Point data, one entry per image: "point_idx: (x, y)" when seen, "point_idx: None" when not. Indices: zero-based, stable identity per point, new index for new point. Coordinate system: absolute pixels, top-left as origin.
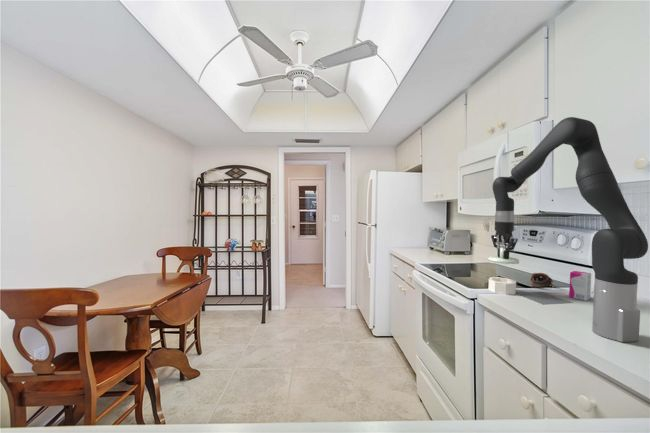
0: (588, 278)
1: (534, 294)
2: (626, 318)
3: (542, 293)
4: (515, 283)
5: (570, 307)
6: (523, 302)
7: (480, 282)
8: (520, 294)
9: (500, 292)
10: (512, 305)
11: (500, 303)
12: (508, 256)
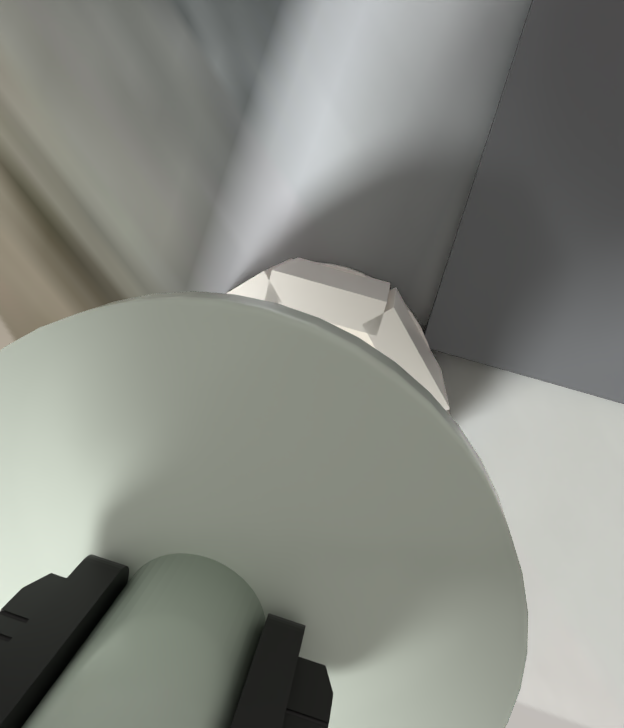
0: None
1: (551, 187)
2: None
3: (579, 45)
4: (448, 406)
5: None
6: (602, 501)
7: (7, 276)
8: (475, 333)
9: None
10: (592, 645)
11: None
12: (325, 724)
